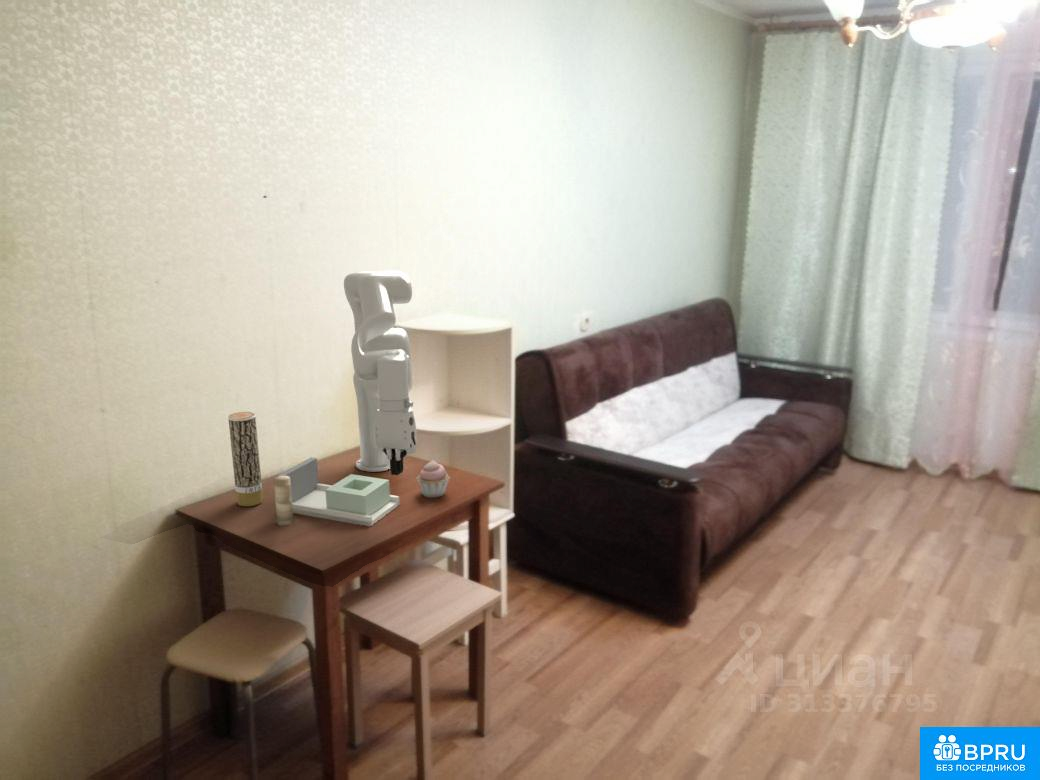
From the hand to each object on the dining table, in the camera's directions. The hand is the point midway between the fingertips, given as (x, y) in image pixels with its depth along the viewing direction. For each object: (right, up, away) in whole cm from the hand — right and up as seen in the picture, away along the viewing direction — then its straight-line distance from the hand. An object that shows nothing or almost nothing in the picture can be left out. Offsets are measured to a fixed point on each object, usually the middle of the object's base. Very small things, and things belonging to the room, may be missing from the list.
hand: (397, 473), depth 202 cm
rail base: (-17, -10, +10) cm, 22 cm away
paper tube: (-42, -10, +13) cm, 46 cm away
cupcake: (+7, -8, +20) cm, 22 cm away
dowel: (-29, -13, +1) cm, 32 cm away
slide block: (-11, -9, +8) cm, 17 cm away
